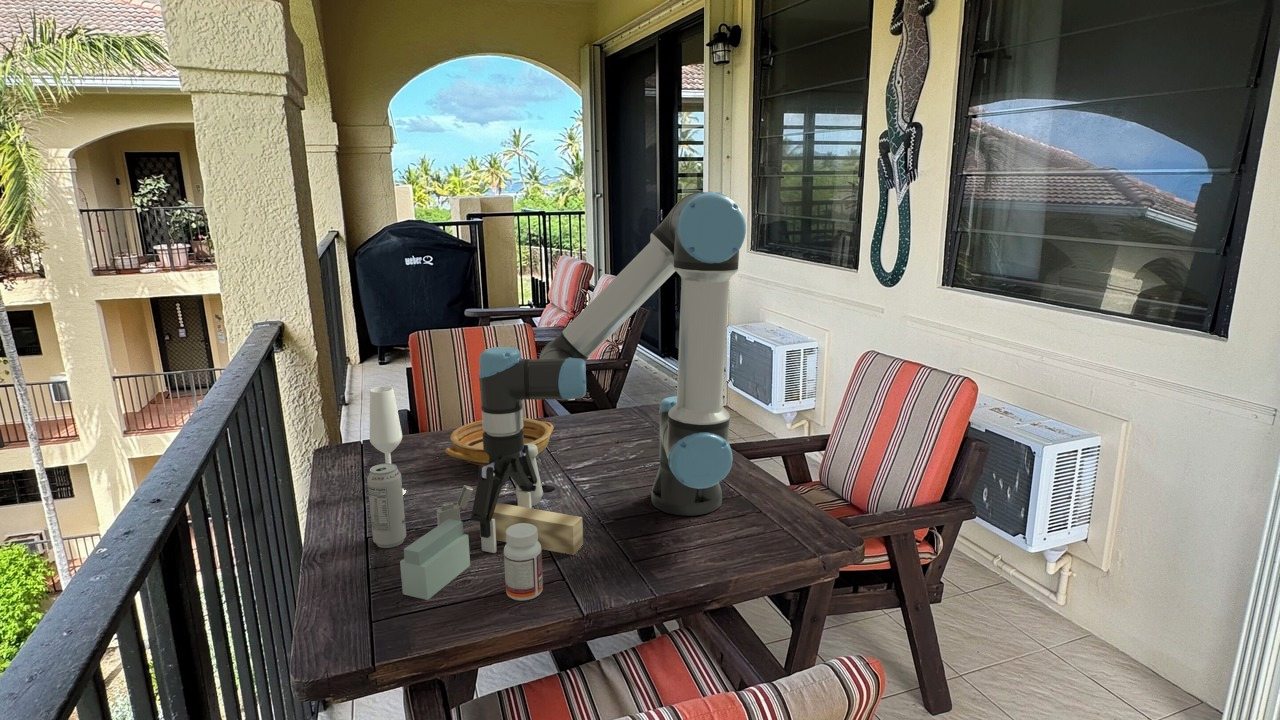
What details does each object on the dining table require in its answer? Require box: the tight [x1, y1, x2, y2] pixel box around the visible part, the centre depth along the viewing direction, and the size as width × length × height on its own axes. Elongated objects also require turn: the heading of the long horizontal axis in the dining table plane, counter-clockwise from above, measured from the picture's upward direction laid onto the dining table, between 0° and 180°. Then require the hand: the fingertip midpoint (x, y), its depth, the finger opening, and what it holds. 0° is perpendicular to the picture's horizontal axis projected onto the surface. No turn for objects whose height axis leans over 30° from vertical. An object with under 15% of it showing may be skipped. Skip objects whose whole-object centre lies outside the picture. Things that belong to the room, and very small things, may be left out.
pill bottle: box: [503, 523, 544, 601], centre depth 119 cm, size 6×6×11 cm
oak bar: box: [478, 502, 584, 556], centre depth 137 cm, size 20×4×6 cm, turn 69°
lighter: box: [436, 484, 474, 526], centre depth 143 cm, size 7×2×8 cm, turn 125°
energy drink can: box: [366, 462, 407, 549], centre depth 136 cm, size 6×6×15 cm
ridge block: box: [399, 519, 471, 601], centre depth 124 cm, size 5×12×8 cm, turn 158°
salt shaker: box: [515, 444, 544, 507], centre depth 153 cm, size 6×6×13 cm
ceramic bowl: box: [444, 417, 554, 466], centre depth 177 cm, size 30×24×8 cm
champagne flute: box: [369, 386, 407, 495], centre depth 157 cm, size 7×7×24 cm
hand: (508, 535), depth 140 cm, fingers open, 12 cm apart
